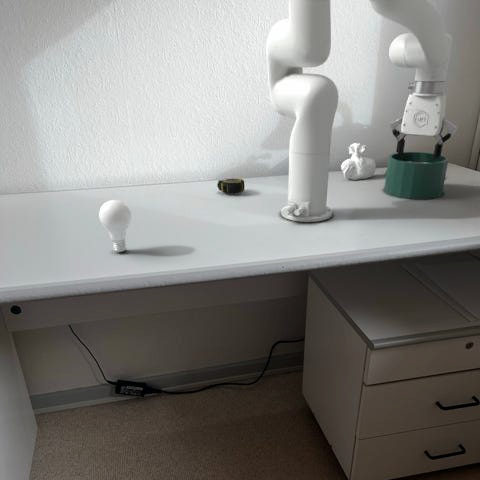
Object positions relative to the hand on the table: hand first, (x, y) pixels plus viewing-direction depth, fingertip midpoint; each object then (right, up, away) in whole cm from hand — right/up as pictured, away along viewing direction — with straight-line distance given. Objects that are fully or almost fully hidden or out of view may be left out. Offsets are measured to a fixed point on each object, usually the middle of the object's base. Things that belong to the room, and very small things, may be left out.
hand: (417, 157), depth 136 cm
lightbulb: (-74, -31, -32) cm, 86 cm away
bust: (-12, 0, +20) cm, 23 cm away
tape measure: (-52, -8, +7) cm, 53 cm away
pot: (0, -8, +4) cm, 10 cm away
